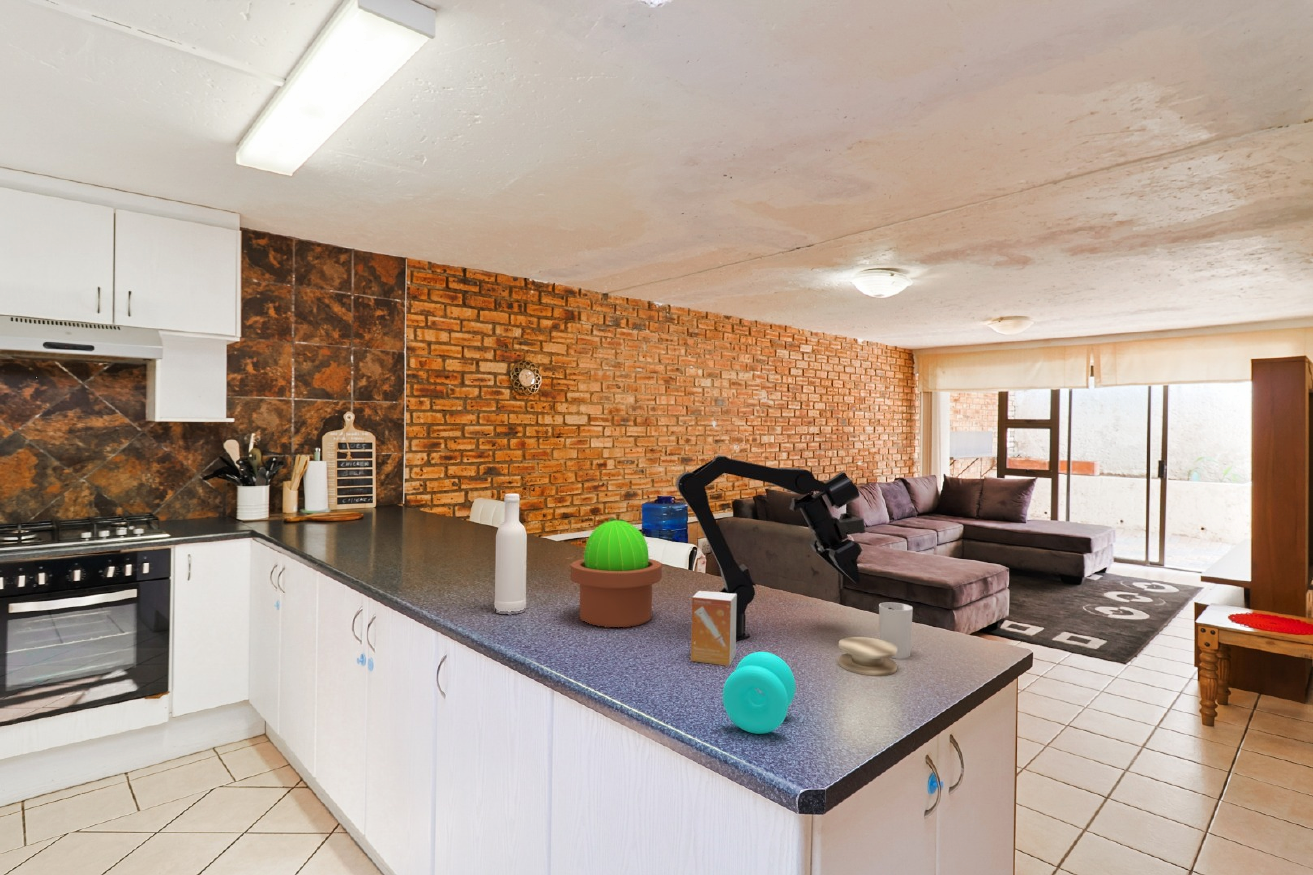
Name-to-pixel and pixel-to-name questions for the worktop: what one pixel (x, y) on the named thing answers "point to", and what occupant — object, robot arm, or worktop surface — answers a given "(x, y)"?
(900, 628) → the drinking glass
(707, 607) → the small box
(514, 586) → the bottle
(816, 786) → the worktop surface
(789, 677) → the turquoise yoyo
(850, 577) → the robot arm
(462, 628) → the worktop surface
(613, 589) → the potted cactus
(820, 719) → the worktop surface
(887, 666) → the birch stand
